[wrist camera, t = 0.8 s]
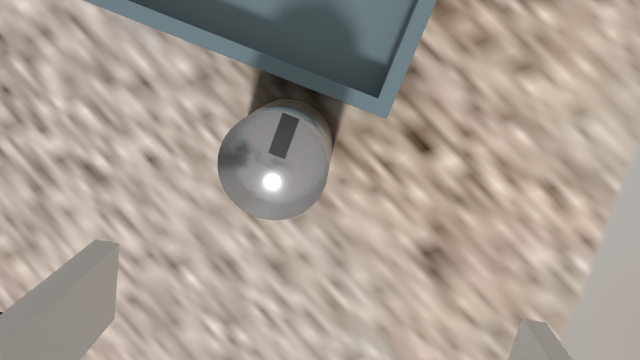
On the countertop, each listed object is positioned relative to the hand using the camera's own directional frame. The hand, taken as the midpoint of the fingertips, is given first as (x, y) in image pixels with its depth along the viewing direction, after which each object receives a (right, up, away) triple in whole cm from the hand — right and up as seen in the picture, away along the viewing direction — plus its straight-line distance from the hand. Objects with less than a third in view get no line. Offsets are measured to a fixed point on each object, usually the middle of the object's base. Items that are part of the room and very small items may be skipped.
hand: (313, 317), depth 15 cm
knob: (-2, +7, +19) cm, 20 cm away
